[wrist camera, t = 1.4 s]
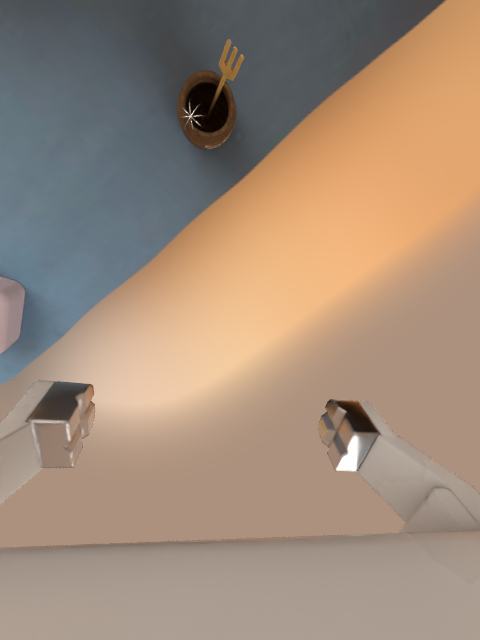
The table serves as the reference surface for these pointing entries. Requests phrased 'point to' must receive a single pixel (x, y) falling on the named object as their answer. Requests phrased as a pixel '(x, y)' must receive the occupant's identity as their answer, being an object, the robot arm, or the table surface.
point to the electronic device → (10, 311)
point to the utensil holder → (209, 104)
